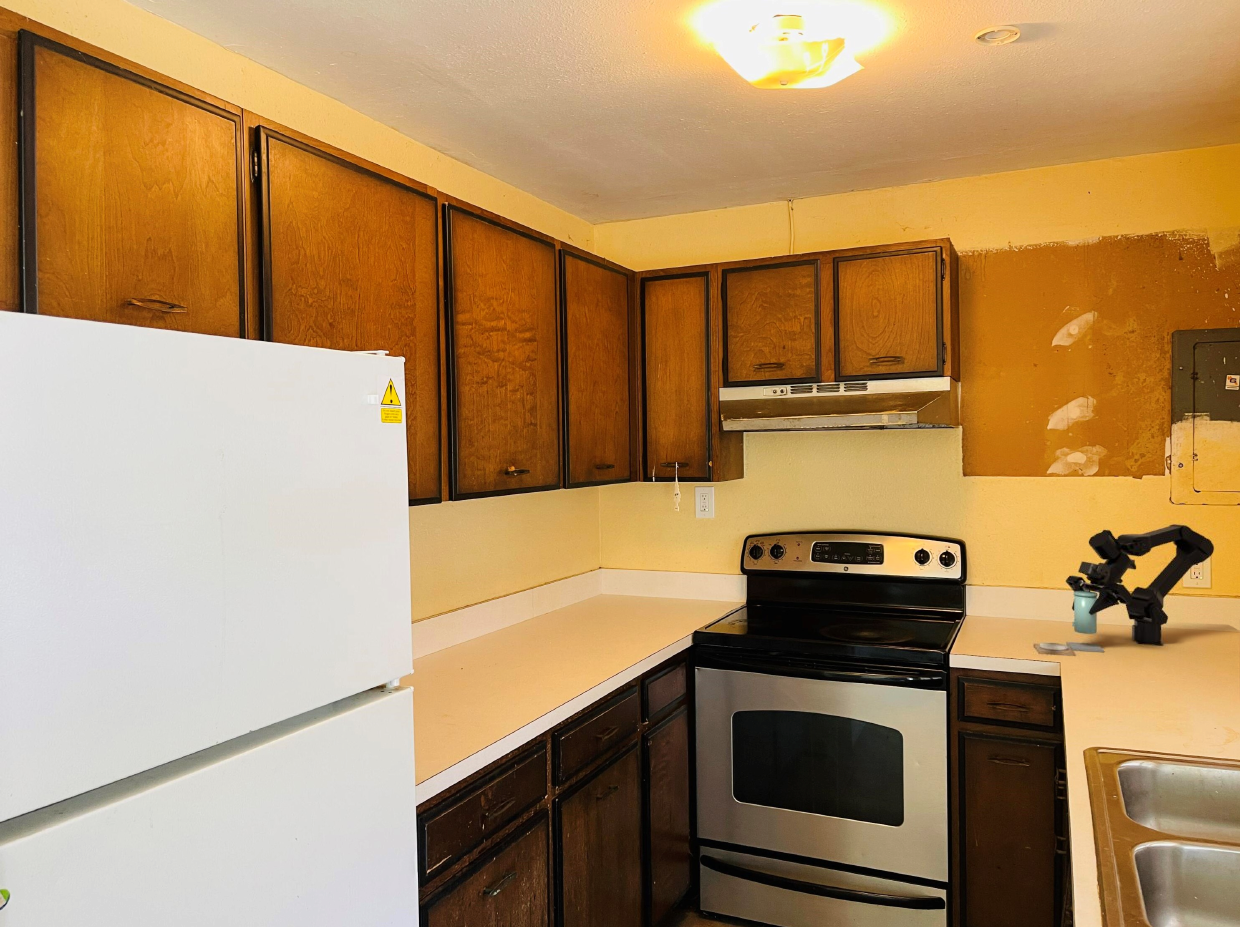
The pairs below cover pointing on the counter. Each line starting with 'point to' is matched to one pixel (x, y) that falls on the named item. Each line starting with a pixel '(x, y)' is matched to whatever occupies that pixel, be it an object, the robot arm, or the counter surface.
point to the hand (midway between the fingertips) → (1081, 611)
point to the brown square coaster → (1054, 649)
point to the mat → (1085, 647)
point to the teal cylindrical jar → (1084, 612)
